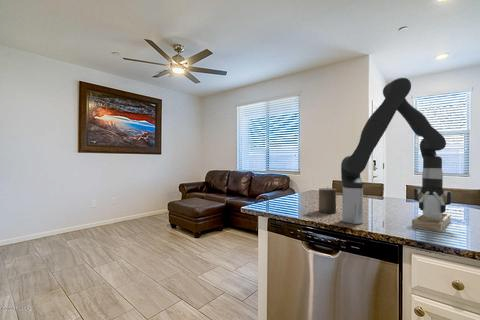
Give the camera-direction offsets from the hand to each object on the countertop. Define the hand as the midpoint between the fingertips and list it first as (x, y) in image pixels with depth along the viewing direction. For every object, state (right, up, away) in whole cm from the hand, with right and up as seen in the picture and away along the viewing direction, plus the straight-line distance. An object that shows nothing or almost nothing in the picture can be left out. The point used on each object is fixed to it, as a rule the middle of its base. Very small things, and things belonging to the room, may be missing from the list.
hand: (431, 211), depth 109 cm
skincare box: (0, -4, 0) cm, 4 cm away
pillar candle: (-41, -6, +25) cm, 49 cm away
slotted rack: (0, -6, 0) cm, 6 cm away
